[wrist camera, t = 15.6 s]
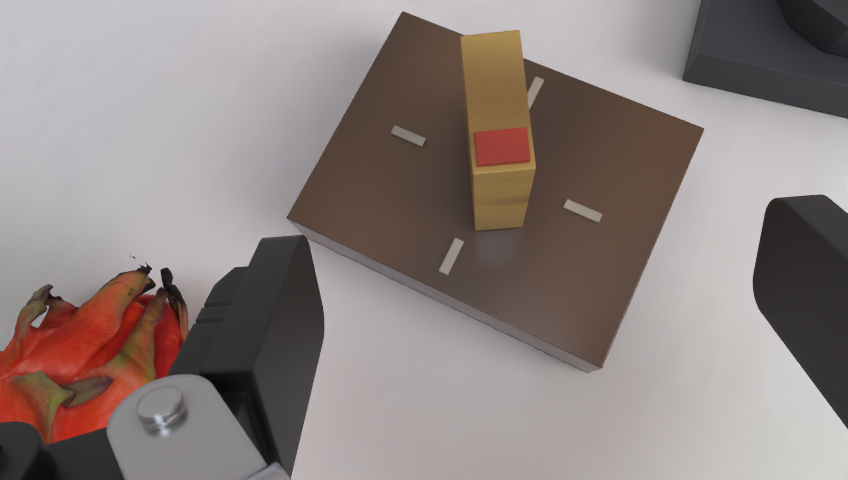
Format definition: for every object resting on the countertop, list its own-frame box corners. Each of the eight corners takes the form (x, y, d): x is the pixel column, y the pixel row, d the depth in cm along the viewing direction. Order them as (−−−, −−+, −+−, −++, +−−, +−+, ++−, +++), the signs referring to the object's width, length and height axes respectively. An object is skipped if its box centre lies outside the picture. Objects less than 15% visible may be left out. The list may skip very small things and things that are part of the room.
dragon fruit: (31, 542, 27) (216, 311, 31) (90, 681, 21) (313, 371, 24) (-192, 465, 21) (65, 197, 25) (-200, 621, 15) (141, 237, 19)
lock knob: (464, 121, 25) (459, 30, 19) (510, 117, 25) (520, 24, 19) (474, 231, 24) (472, 171, 18) (522, 227, 24) (537, 165, 18)
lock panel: (306, 237, 28) (284, 216, 25) (409, 49, 30) (401, 8, 26) (588, 373, 25) (602, 368, 22) (681, 158, 27) (706, 126, 24)
